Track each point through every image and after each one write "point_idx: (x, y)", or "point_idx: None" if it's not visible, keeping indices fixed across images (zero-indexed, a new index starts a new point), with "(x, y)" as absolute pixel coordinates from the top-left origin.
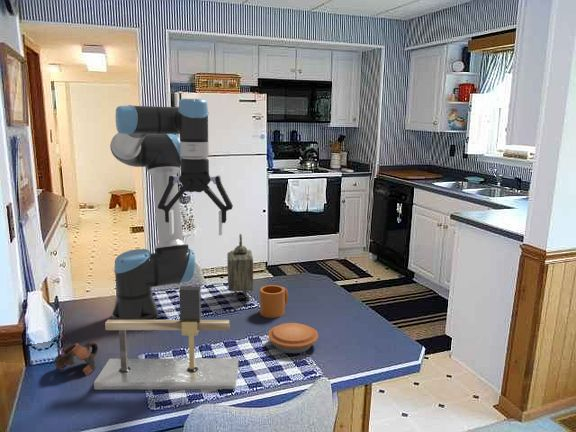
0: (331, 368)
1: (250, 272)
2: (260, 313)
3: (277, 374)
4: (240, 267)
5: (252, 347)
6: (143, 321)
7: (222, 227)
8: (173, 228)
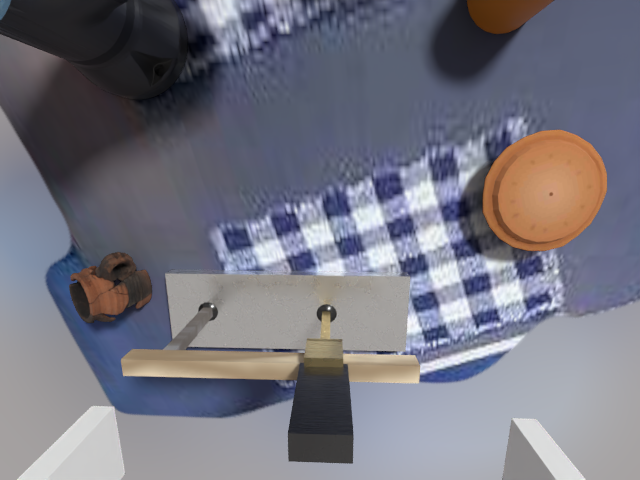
0: (584, 287)
1: None
2: (468, 5)
3: (477, 304)
4: None
5: (436, 203)
6: (209, 369)
7: (574, 477)
8: (86, 462)
